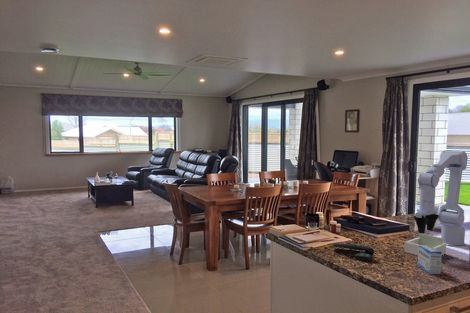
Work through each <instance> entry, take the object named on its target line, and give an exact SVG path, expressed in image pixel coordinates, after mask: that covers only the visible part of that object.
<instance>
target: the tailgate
mask: <svg viewBox="0 0 470 313" xmlns="http://www.w3.org/2000/svg"><path fill="white" fill-rule="evenodd" d="M419 238H420V240H419V244H420V245H429V246H431V247H436V246H438V245H441V244H443V238H441V236H440V237H439V236H434V235H430V234H426V233H424V234H422V233H419Z"/></svg>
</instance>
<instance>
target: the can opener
mask: <svg viewBox="0 0 470 313" xmlns="http://www.w3.org/2000/svg"><path fill="white" fill-rule="evenodd" d="M333 247H334V249H333V251H334V252H335V253H337V254H342V255H343V254H345V255H354V259H356V260H357V261H360V262H361V261H362V262H369V261H371V260H372V259H373V255H374V254H375V250H374V248H372V247H371V246H364V245H360V244H353V243H338V242H337V243H334V244H333Z"/></svg>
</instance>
